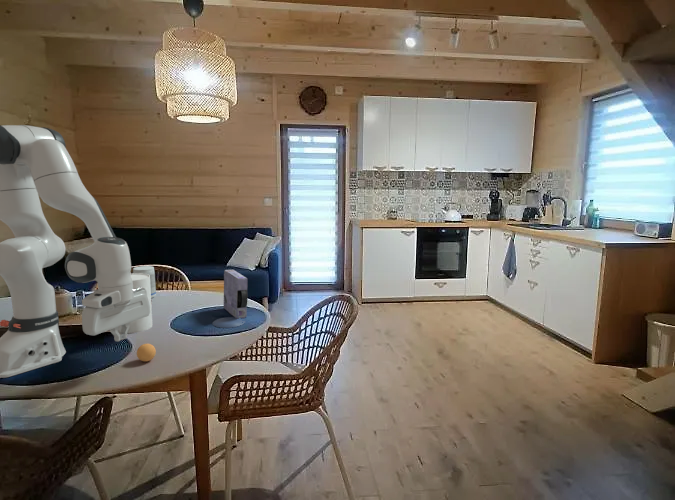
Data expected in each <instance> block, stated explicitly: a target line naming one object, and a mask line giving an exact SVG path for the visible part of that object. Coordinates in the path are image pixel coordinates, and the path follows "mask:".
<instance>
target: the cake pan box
mask: <svg viewBox="0 0 675 500" xmlns="http://www.w3.org/2000/svg"><path fill="white" fill-rule="evenodd" d="M248 296H249V295H248V278H247V277H246V276H244V275H242V274H241V273H239V272H238V271H236V270H235V269H224V271H223V309H225V310H226V311H227V312H228V313H229V314H230V315H231V316H232V317H235V318H237V319H239V318H242V319H246V318H245V317H247V316H248V315H247V314H248V312H247V311H248V310H247V306H248V298H249V297H248Z"/></svg>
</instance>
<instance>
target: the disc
mask: <svg viewBox="0 0 675 500" xmlns="http://www.w3.org/2000/svg"><path fill="white" fill-rule="evenodd" d="M242 322H243V323H242ZM244 323H245V324H246V320H245V321H242V320H240V319H239V320H237V318H235V317H234V316H230V317H229V316H226V317H221V318H216V319H215V320H214V321H212V326H213V325H214V326H213V327H215V326H216V328H219V327H220V329H230V328H231V329H232V327H233V328H237V326H238V327H241V326H243V325H245V324H244ZM240 325H241V326H240Z"/></svg>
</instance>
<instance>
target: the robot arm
mask: <svg viewBox="0 0 675 500" xmlns="http://www.w3.org/2000/svg"><path fill="white" fill-rule="evenodd" d="M66 147H67V146H66V141H65V139H64V137H63V135H62V134H61V133H60V132H59V131H57V130H55V129H52V128H49V127H43V126H41V127H40V126H33V125H28V124H27V125H25V124H18V125H15V124H10V125H9V124H6V125H2V124H1V125H0V221H1V222H2V223H4V224H5V225H6V226H7V227H8V228H9V229H10V231H11V232H12V234H13V236H14V237H12V238H8V239H5V240H3V241H1V242H0V277H1V278H2V279H3V281H4V282H5V284H6V286H7V289H8V291H9V293H10V299H11V300H10V301H11V305H12V314H13V315H12V317H11V318H10V319H11V320H6V319H2V320H0V327H4V328H8V329H7V331H6V332H5V333H3V335H1V337H0V379H1V378H3V379H5V378H9V377H13V376H17V375H20V374H23V373H26V372H29V371H33V370H36V369H39V368H42V367H45V366H49V365H52V364H56V363H59V362H61V361H62V359H63V357H64V355H65V354H66V353H67V351H66V348H65V347H64V344H63V340H62V337H61V334H60V329H59V326H60V325H59V323H60V319H59V317H60V316H59V311H58V310H57V305H56V293H55V288H54V286H53V285H51V284H50V283H49V282H47V280H46V279H45V276H44V274H43V269H44V268H47V267H51V266H54V264H56V263H58V262H59V261H61V260H62V259H63V258H64V256H65V254H66V244H65V242H64V240H63V239H62V237H59V236H58V235H57V234H56V233H54V230H53V229H52V228H51V226H50V224H49V222H48V221H47V219H46V216H45V214H44V212H43V208H42V203H41V200H42V202H43V203H44V204H46V205H47V206H49V207H50V208H53V209H55V210H57V211H58V210H59V211H62V212H65V213H67V214H71V215H74V216H76V217H77V218H79V219H80V220H81V221H82V222H84V224H85V226H86V228H87V229H88V232H89V233H90V236H91V238H92V240H93V243H91V244H90V245H87V246H86V247H83V248H80V249H77V250H74V251H72V252H70V253H69V254H68V255H67V256H66V258H65V262H64V269H65V272H66V274H67V276H68V277H69V279H71V280H72V281H74V282H76V283H78V284H84V283H89V282H93V281H95V282H97V289H95V290H94V291H93V292H91V293H90V294H88V295H86V296H85V297H83V298H82V300H81V304H82V307H83V309H82V312H81V324H82V325H81V326H82V331H83V333H84V334H86V335H87V336H88V335H89V336H97V335H99V334H101V333H105V332H108V331H110V333H111V334H112V335H113V337H114V338H113V339H114V341H115V342H120V341H123V340H126V339H127V338H128V334H127V332H128V329H129V327H130V322H133V321H135V320H138V319H141V318H144V317H146V316H149V314H150V305H149V301H148V297H147V291H146V290H145V289H144V288H142V287H138V288H136V289H133V281H132V278H131V275H130V273H131V271H132V260H131V254H130V248H129V246H128V243H127V241H125V240H124V239H123V238H120V237H117V236H116V234H115V233H114V230H113V228H112V226H111V225H110V222H109V220H108V218H107V216H106V215H105V213H104V211H103V209H102V206H101V205H100V204H99V202H98V200H97V199H96V198H95V197H94V196H93V195H92V194H91V193H90V191H88V190H87V187H85V185H84V184H83V181H82V179H81V178H80V175H79V173H78V169H77V167H76V165H75V163H74V160H73V159H72V157H71V155H70V154H69V151H68V149H67V148H66ZM40 199H41V200H40ZM119 326H122V329H121V333H119V332H118V331H117V330H119Z"/></svg>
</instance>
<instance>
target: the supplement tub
mask: <svg viewBox="0 0 675 500" xmlns="http://www.w3.org/2000/svg"><path fill="white" fill-rule="evenodd" d="M132 273H143V274H149V275H150V286H151V299H152V298H155V297H156V296H157V290H156V288H157V287H156V274H155V267H154V266H152V265H141V266H136V267H133V268H132Z"/></svg>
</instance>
